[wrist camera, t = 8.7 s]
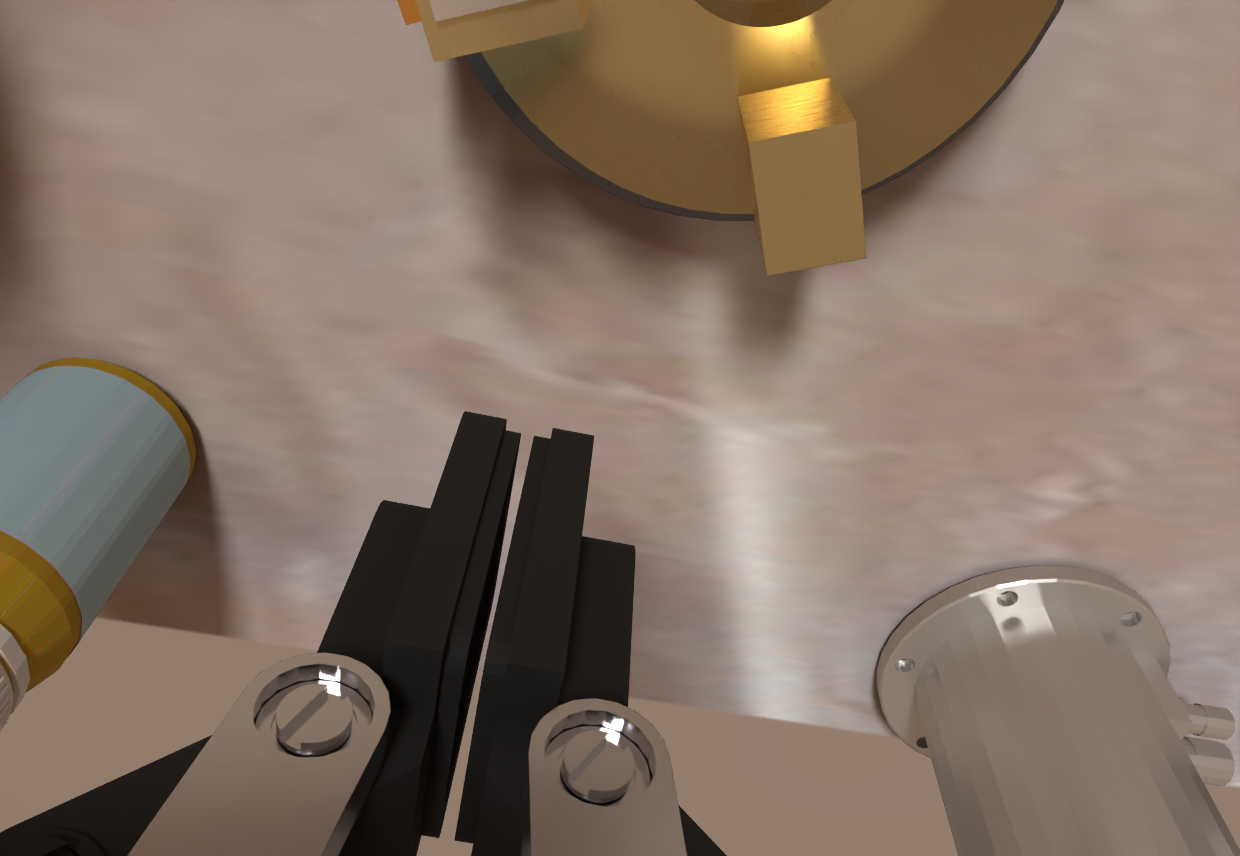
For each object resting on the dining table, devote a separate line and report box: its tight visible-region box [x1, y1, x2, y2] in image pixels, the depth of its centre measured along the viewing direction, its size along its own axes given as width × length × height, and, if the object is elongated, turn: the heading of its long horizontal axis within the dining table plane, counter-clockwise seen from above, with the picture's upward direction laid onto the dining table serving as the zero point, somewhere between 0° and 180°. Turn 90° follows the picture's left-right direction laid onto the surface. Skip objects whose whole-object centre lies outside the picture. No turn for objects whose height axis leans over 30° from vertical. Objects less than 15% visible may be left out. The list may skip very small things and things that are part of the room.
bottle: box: [0, 358, 196, 731], centre depth 32 cm, size 7×7×15 cm
